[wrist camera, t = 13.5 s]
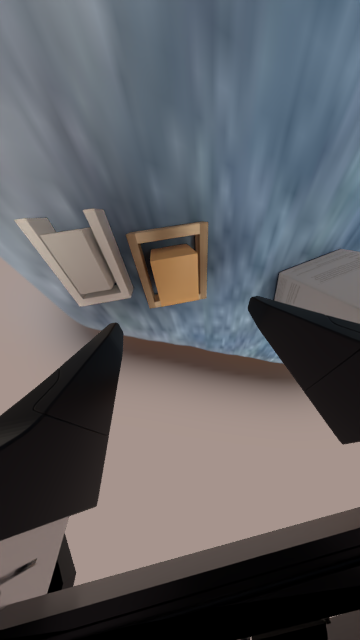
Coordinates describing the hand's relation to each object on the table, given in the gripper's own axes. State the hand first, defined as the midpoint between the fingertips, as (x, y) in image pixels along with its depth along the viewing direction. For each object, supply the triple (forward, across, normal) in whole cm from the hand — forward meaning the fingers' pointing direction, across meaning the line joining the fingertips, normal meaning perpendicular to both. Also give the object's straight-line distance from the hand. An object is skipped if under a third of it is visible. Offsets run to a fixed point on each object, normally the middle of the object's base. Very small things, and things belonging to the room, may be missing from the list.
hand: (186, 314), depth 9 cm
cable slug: (+10, +8, -3) cm, 13 cm away
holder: (+10, 0, 0) cm, 10 cm away
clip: (+10, +8, -3) cm, 13 cm away
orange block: (+10, 0, 0) cm, 10 cm away
